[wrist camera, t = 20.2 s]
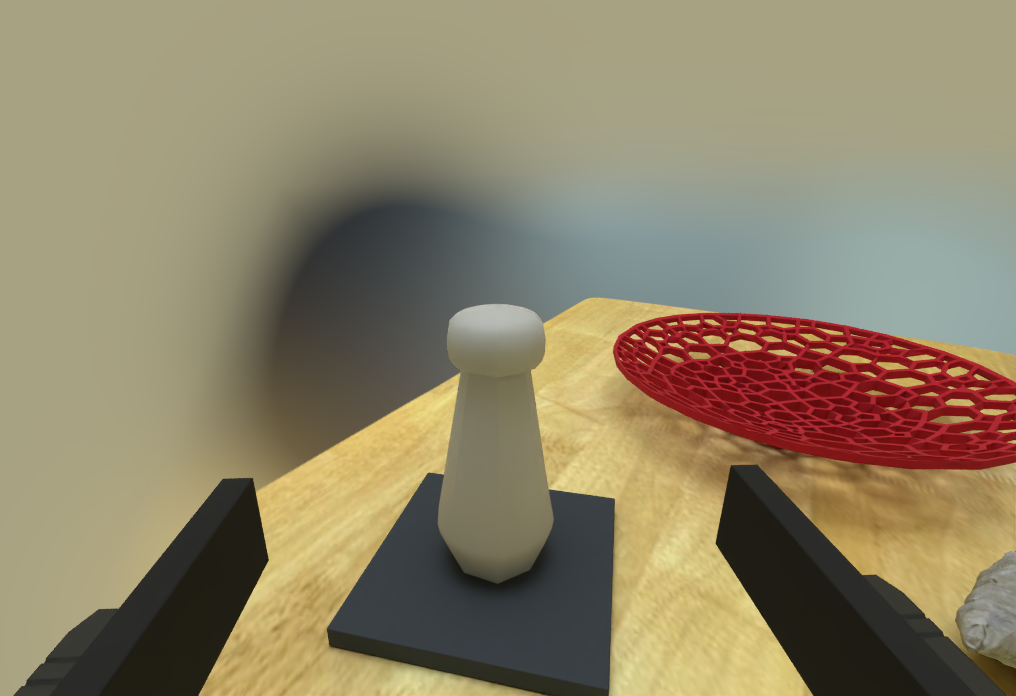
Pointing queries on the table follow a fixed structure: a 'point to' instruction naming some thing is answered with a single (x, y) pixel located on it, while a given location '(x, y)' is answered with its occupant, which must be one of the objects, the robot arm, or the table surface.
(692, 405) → the bowl
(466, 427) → the salt shaker
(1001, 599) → the seashell
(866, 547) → the table surface
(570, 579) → the mat
